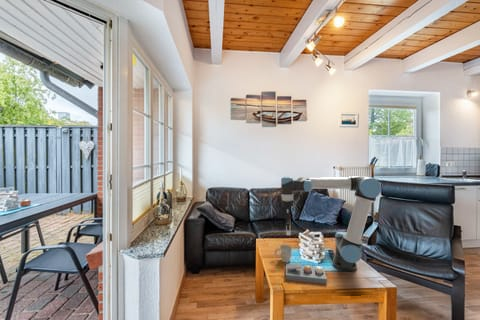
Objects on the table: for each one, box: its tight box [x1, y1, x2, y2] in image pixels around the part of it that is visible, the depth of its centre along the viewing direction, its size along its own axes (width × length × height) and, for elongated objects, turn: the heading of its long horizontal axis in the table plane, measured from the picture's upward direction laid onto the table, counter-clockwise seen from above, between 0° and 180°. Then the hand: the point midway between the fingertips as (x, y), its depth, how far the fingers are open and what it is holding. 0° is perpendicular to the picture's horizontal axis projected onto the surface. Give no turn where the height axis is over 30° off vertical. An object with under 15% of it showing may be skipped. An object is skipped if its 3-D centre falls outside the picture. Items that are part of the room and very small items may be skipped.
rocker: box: [288, 262, 302, 270], centre depth 147 cm, size 8×5×1 cm, turn 77°
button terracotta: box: [303, 264, 312, 273], centre depth 145 cm, size 4×4×3 cm
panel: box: [285, 263, 328, 285], centre depth 145 cm, size 24×14×4 cm, turn 78°
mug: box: [274, 244, 293, 263], centre depth 167 cm, size 8×13×10 cm, turn 78°
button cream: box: [315, 265, 324, 275], centre depth 143 cm, size 4×4×3 cm
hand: (288, 231), depth 153 cm, fingers open, 13 cm apart
